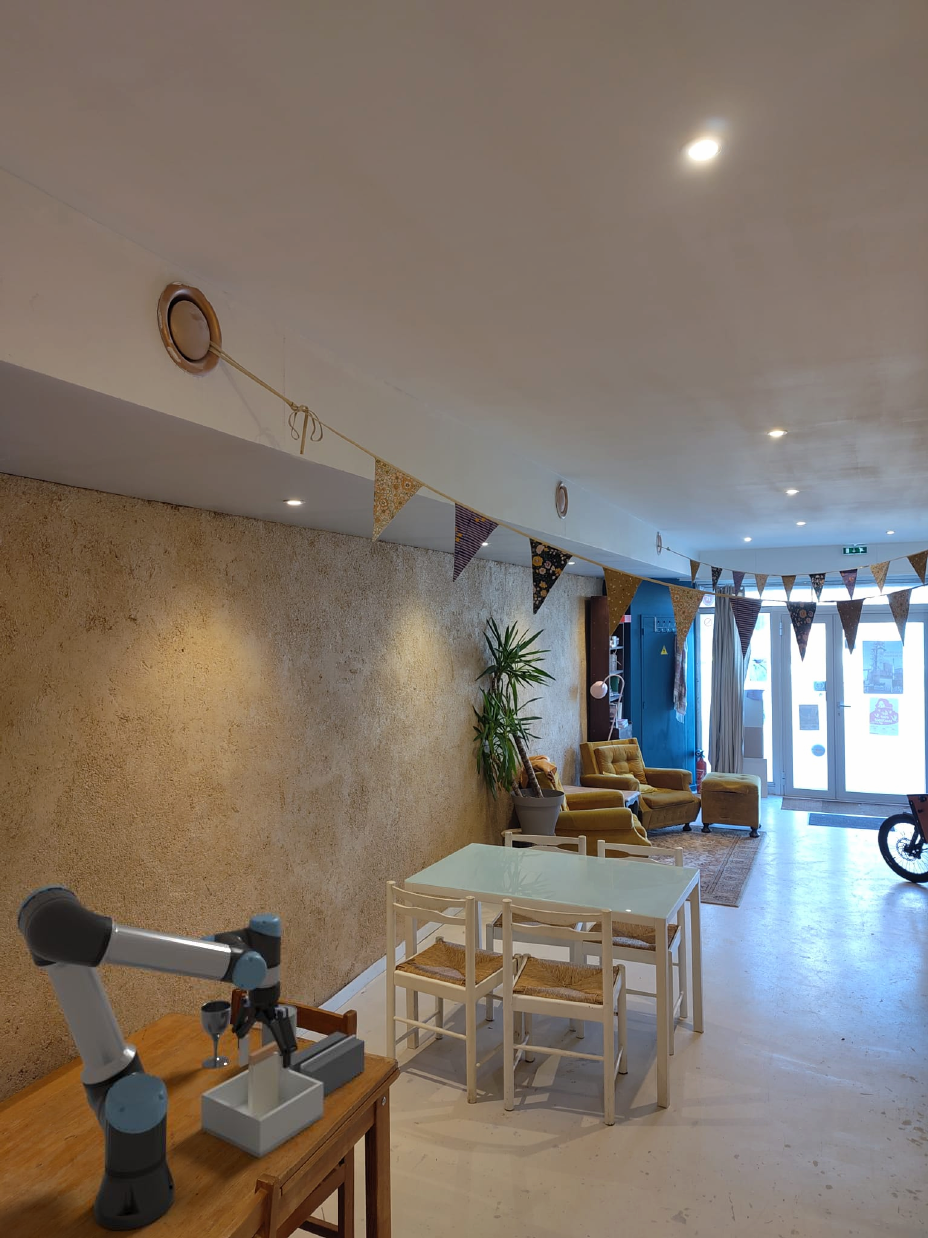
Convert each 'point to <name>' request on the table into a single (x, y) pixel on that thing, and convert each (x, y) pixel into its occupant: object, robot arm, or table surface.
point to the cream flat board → (263, 1080)
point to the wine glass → (215, 1028)
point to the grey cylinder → (266, 1032)
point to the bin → (261, 1135)
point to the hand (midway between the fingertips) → (263, 1072)
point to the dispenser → (331, 1061)
